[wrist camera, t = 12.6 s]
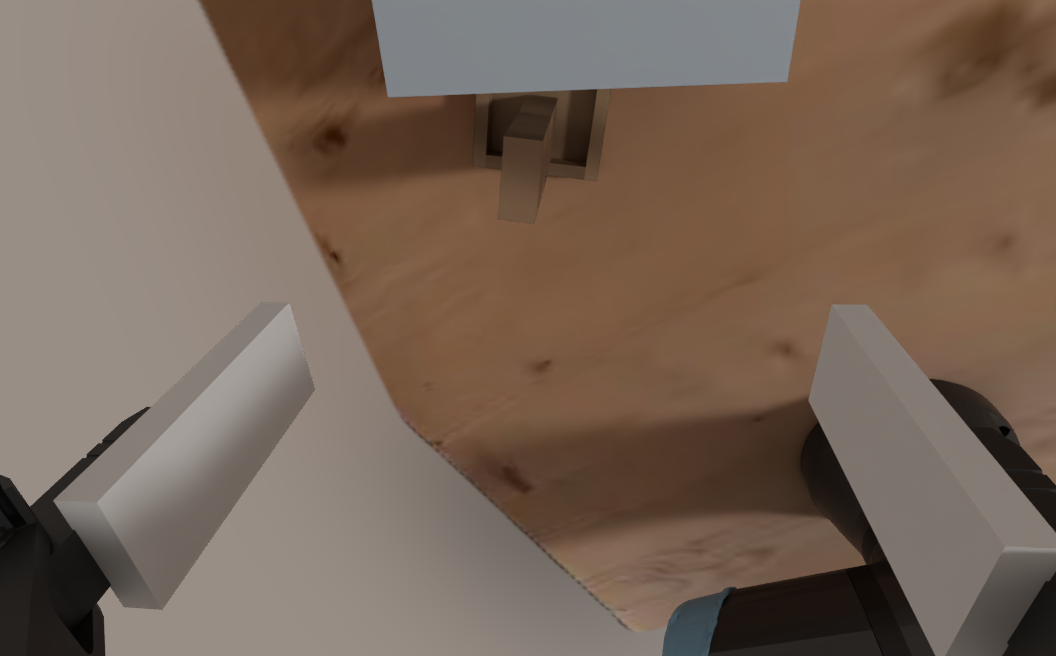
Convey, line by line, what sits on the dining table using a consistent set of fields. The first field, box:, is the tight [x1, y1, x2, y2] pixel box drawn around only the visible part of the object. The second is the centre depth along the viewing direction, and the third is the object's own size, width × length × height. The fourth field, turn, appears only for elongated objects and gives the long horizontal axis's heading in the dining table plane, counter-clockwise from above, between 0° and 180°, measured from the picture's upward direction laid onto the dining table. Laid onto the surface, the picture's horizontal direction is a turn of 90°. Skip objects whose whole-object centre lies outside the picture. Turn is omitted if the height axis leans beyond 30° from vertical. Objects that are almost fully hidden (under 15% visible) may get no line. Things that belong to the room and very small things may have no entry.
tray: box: [473, 89, 611, 224], centre depth 30 cm, size 16×8×12 cm, turn 175°
